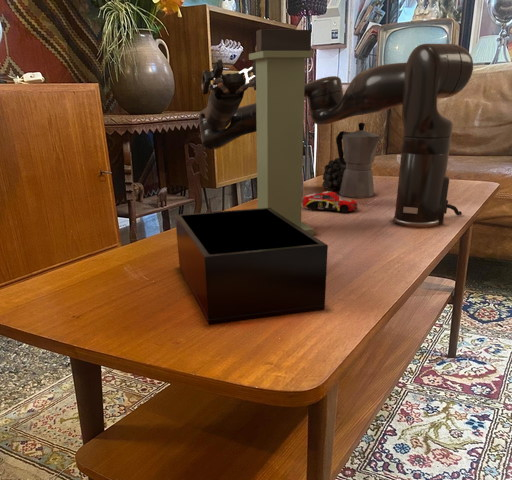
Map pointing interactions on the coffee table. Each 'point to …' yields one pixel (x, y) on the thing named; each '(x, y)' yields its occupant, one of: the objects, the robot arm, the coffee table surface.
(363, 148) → the coffeepot
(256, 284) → the open black box
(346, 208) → the race car
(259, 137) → the post
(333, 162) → the fruit
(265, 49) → the dark brown box
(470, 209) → the coffee table surface
